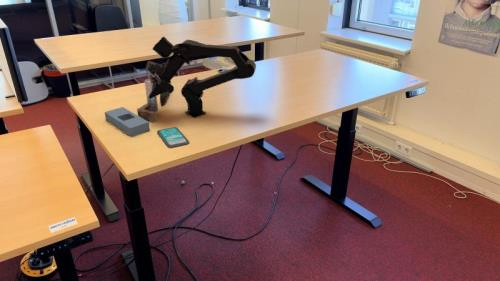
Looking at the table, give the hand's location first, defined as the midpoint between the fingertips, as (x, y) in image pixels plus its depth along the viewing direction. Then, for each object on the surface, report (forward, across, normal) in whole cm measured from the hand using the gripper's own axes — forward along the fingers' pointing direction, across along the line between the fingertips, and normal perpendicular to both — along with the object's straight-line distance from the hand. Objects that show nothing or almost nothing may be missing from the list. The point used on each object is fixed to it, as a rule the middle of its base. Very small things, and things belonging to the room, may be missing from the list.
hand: (148, 96), depth 153 cm
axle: (+4, 0, +6) cm, 7 cm away
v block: (+8, 0, +5) cm, 10 cm away
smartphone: (+4, +21, +10) cm, 24 cm away
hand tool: (-1, -18, +15) cm, 23 cm away
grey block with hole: (+14, +4, -1) cm, 14 cm away
